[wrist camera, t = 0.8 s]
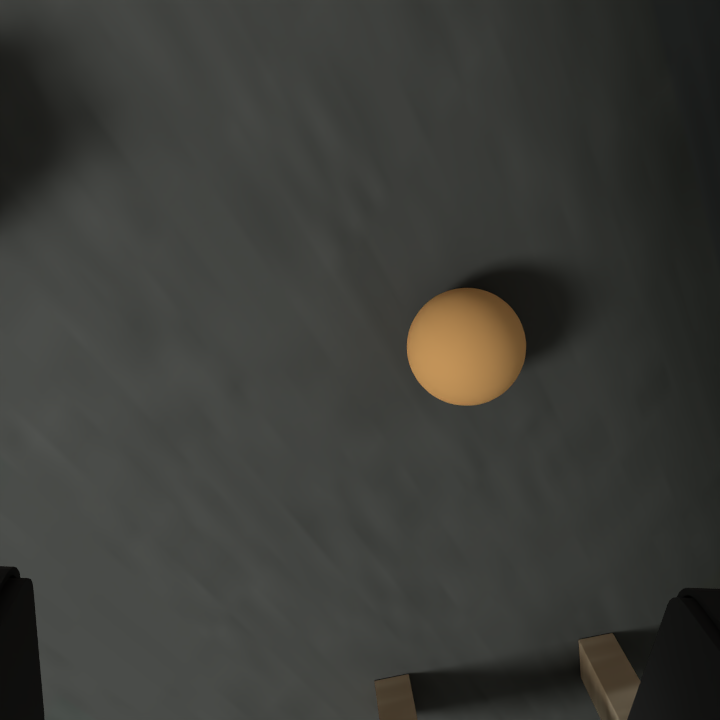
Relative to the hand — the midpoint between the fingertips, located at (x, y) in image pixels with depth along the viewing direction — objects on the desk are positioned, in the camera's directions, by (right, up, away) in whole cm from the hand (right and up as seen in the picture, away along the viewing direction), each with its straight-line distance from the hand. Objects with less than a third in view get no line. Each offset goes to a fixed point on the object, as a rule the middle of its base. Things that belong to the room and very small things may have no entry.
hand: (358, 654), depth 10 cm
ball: (+5, +5, +19) cm, 20 cm away
